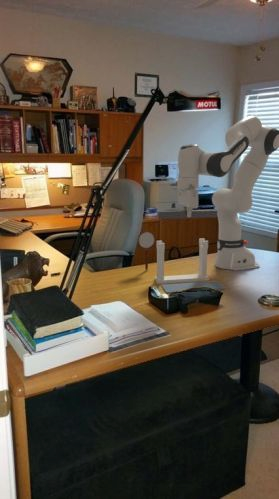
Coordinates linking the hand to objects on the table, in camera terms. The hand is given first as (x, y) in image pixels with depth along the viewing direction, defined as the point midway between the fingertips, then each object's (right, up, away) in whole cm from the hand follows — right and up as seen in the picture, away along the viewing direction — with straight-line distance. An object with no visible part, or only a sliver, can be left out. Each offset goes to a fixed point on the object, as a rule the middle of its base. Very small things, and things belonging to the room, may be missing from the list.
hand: (187, 216), depth 174 cm
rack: (-1, -28, +12) cm, 31 cm away
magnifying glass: (-17, -25, +27) cm, 41 cm away
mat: (+3, -31, +1) cm, 31 cm away
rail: (0, -1, 0) cm, 1 cm away
